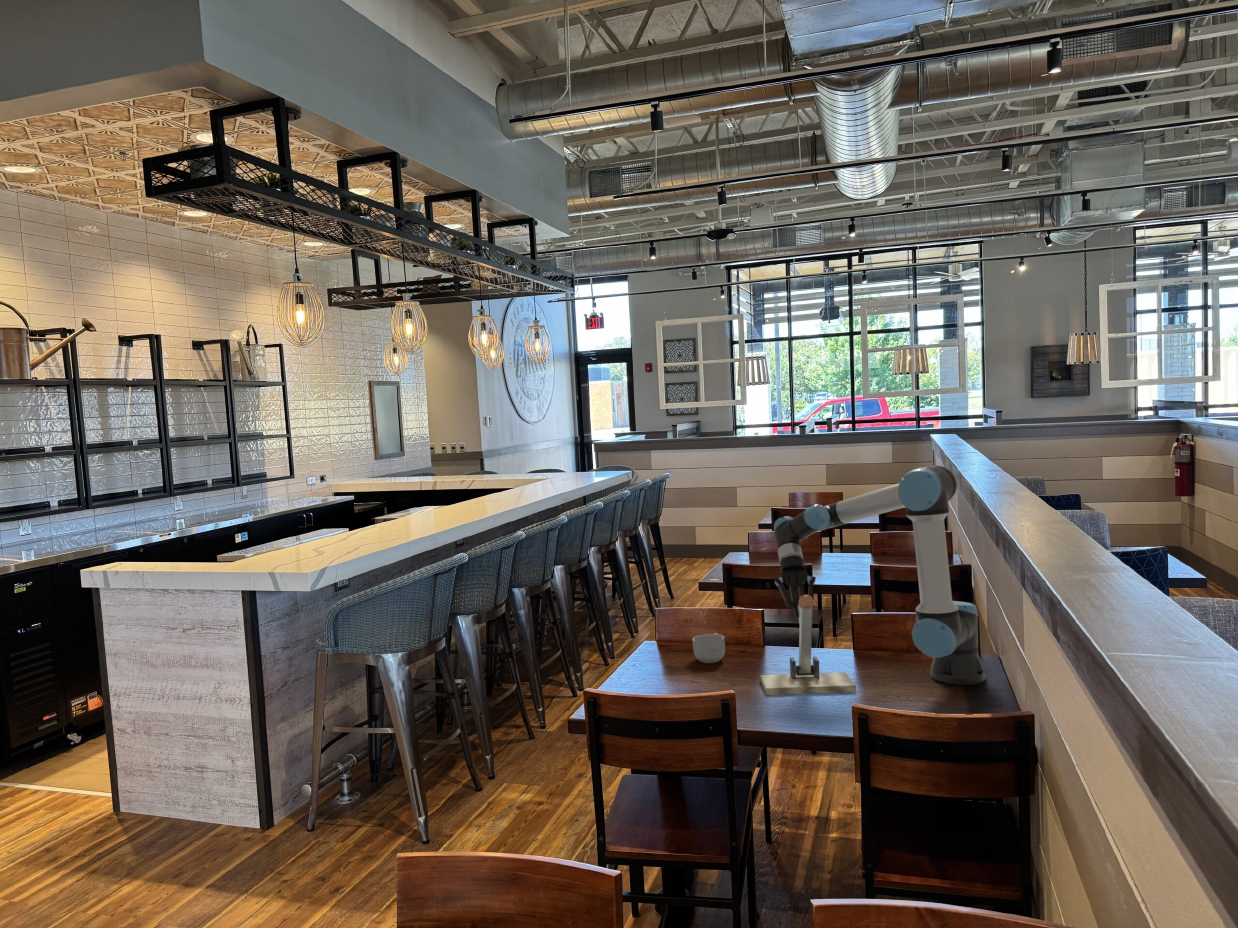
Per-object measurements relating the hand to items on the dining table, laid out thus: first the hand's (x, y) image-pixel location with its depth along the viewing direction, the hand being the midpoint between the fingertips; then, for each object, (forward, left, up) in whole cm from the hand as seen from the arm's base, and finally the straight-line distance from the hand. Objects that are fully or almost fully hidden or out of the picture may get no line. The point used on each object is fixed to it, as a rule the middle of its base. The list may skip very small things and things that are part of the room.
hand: (803, 626), depth 243 cm
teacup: (+26, -28, -18) cm, 42 cm away
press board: (0, +2, -18) cm, 18 cm away
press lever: (0, -1, -15) cm, 15 cm away
